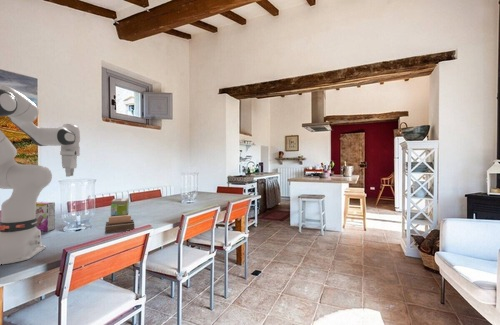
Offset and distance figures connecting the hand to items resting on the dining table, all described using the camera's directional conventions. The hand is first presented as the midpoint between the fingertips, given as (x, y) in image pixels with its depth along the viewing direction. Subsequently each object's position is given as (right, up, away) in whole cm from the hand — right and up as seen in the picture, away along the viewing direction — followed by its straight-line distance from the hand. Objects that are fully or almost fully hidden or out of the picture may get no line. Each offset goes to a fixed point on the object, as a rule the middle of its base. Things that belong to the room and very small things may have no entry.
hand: (69, 176), depth 139 cm
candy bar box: (-17, -32, +2) cm, 36 cm away
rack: (+26, -32, +6) cm, 42 cm away
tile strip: (+25, -31, +9) cm, 41 cm away
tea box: (+15, -33, +26) cm, 44 cm away
